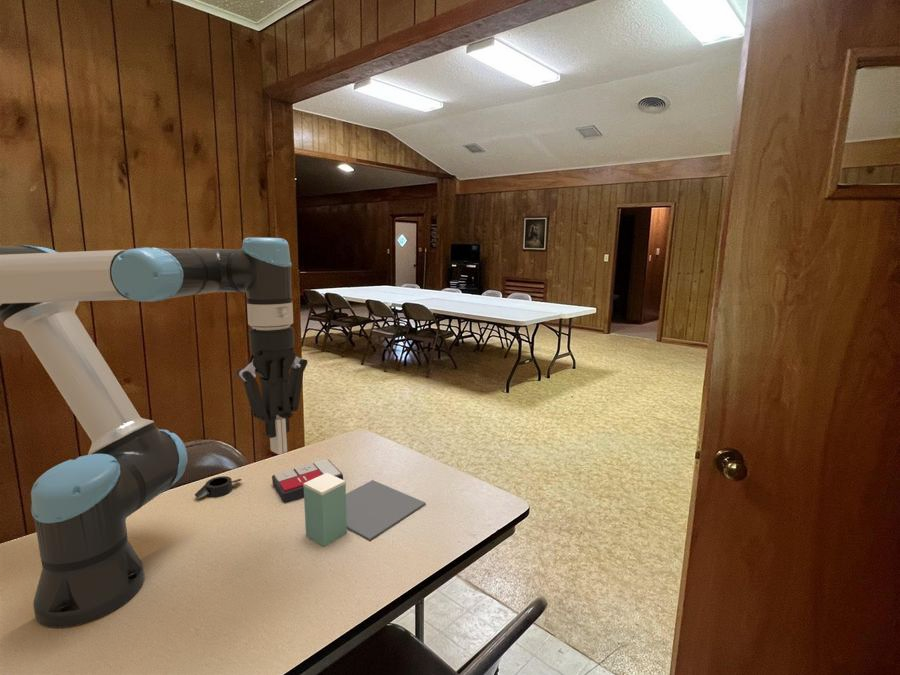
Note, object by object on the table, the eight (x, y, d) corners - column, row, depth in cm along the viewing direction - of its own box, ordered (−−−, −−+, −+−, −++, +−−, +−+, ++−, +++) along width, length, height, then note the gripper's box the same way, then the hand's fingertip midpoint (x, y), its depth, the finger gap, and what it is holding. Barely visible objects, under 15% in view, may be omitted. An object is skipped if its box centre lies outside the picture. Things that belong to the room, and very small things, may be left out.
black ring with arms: (200, 487, 118) (199, 477, 117) (243, 482, 121) (242, 472, 120) (193, 503, 111) (192, 492, 110) (239, 497, 114) (238, 486, 113)
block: (306, 535, 98) (303, 483, 96) (328, 523, 103) (326, 472, 101) (324, 546, 95) (321, 492, 92) (347, 533, 99) (345, 481, 97)
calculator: (270, 472, 119) (327, 456, 127) (272, 488, 120) (329, 470, 128) (282, 491, 110) (343, 471, 118) (284, 507, 111) (344, 487, 119)
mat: (315, 511, 107) (315, 509, 107) (372, 481, 121) (372, 480, 121) (370, 541, 97) (370, 539, 97) (425, 504, 111) (425, 502, 111)
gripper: (247, 333, 75) (257, 469, 79) (315, 324, 85) (320, 444, 90) (223, 328, 79) (234, 457, 84) (291, 320, 90) (297, 435, 94)
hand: (278, 451), depth 87 cm, fingers closed
